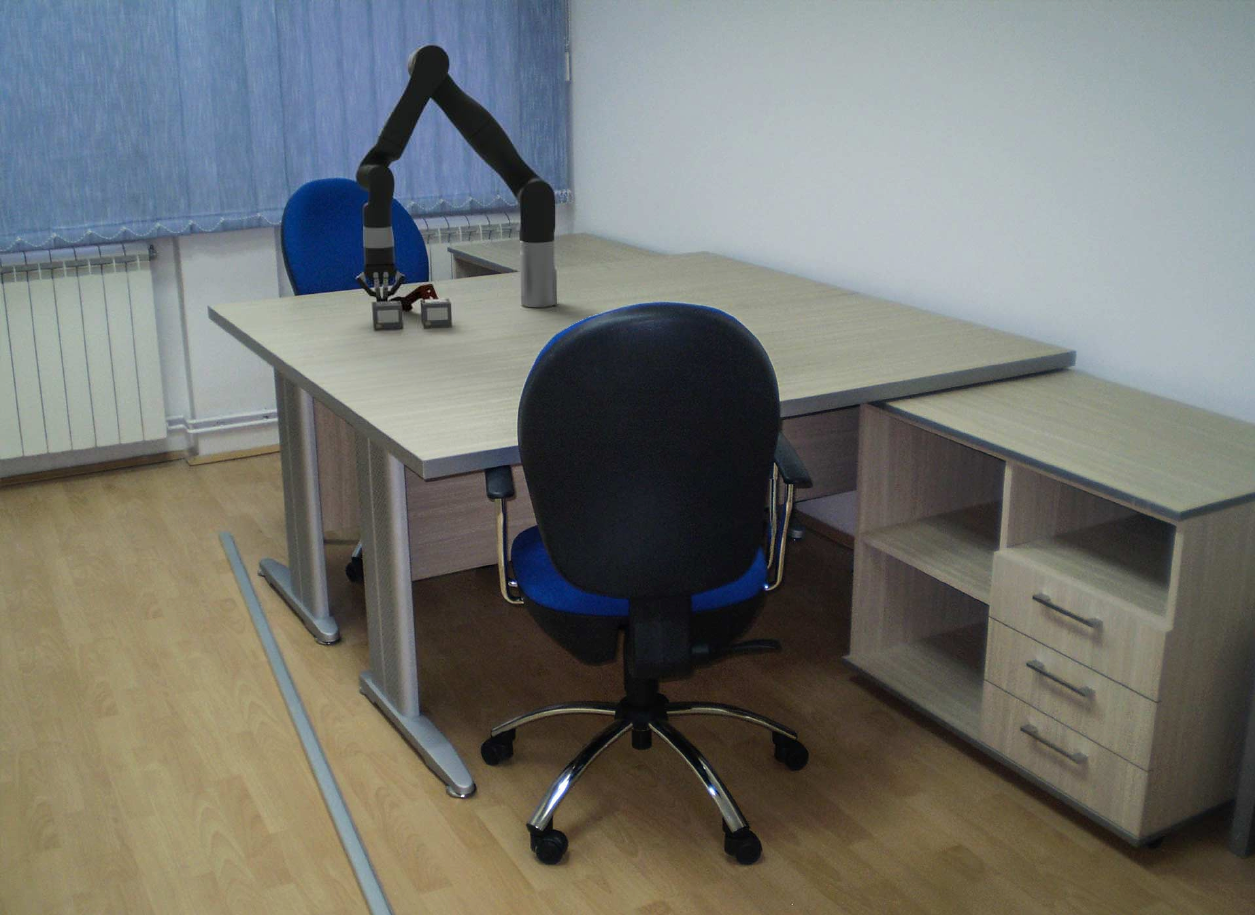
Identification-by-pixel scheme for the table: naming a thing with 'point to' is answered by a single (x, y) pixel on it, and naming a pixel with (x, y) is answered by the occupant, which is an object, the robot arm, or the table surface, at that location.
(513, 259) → the table surface
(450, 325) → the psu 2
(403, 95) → the robot arm
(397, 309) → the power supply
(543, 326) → the table surface
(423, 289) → the bracket
